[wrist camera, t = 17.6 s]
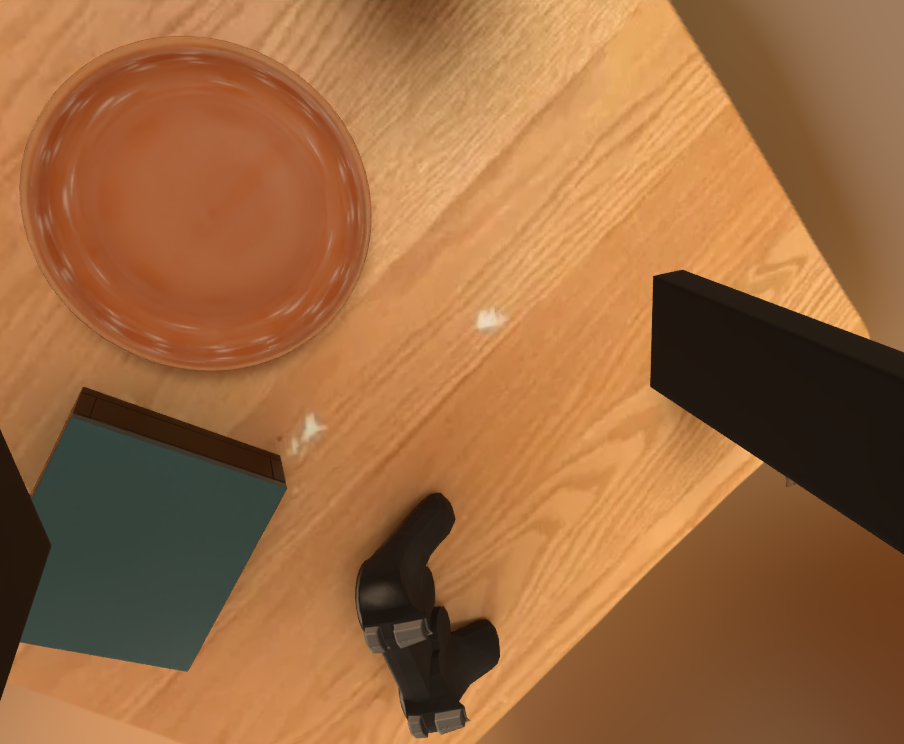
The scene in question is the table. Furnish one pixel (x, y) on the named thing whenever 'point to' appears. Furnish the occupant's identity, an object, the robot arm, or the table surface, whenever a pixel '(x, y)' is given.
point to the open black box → (173, 434)
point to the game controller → (421, 624)
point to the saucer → (195, 203)
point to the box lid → (140, 544)
